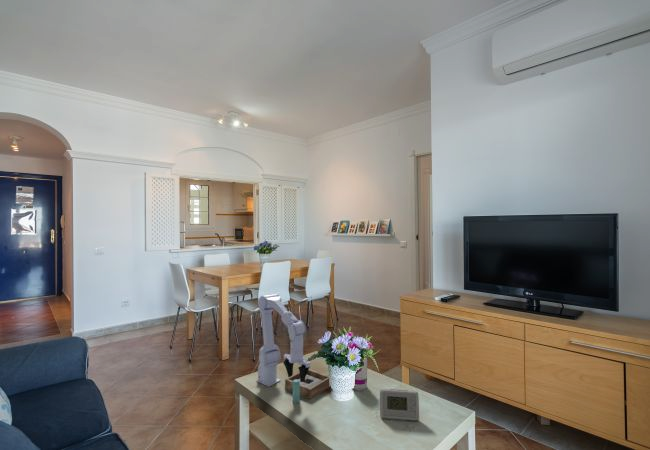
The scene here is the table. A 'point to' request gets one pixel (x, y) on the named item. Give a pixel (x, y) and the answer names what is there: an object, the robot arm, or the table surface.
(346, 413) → the table surface
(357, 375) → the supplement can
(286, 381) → the box
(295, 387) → the peg
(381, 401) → the digital clock
